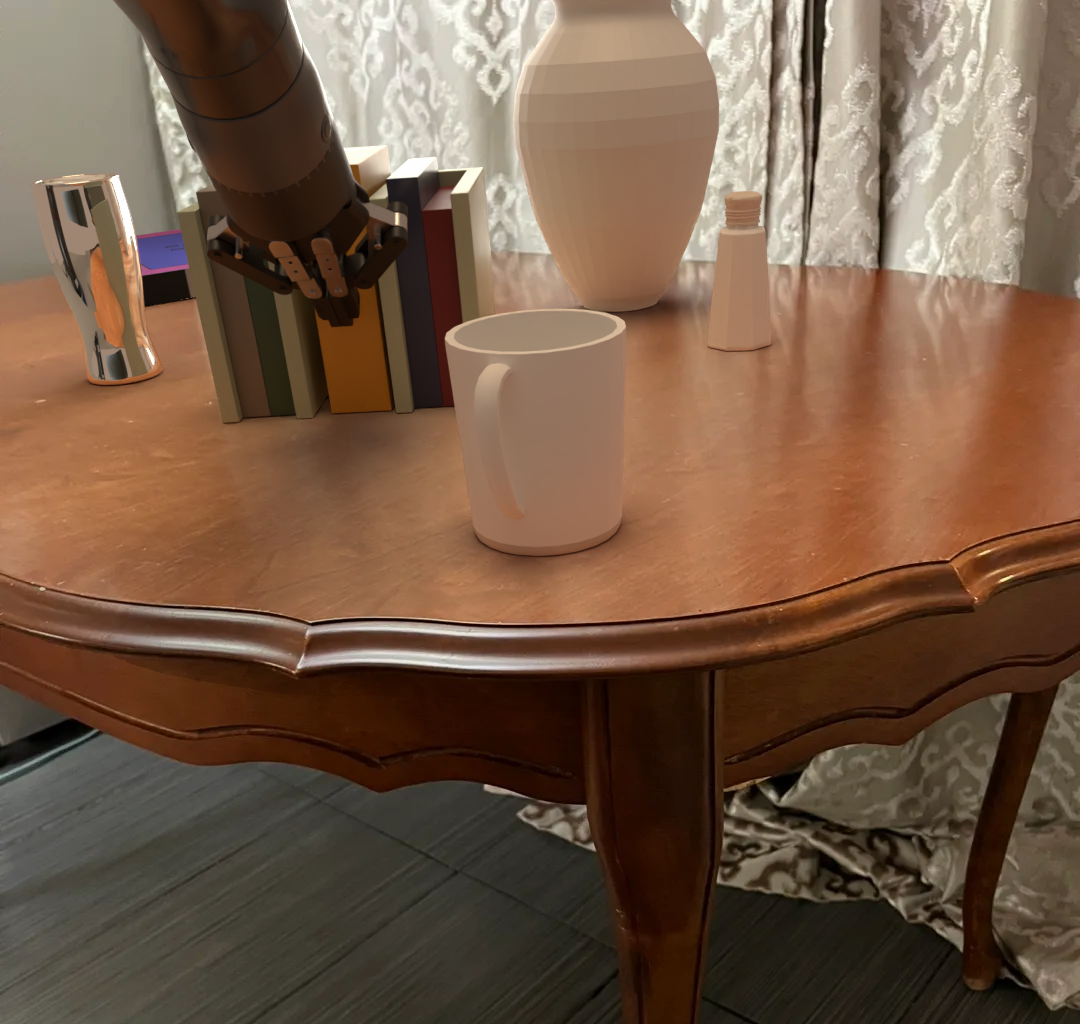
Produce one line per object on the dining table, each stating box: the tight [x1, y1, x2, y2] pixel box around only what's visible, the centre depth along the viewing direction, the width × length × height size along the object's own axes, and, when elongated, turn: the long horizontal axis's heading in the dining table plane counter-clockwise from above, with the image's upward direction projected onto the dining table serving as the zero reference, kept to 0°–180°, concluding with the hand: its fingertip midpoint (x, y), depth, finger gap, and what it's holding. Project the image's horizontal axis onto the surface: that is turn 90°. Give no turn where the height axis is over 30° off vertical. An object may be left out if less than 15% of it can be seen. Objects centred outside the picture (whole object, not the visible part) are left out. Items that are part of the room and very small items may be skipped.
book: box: [136, 228, 195, 307], centre depth 132 cm, size 21×3×30 cm
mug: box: [445, 308, 627, 557], centre depth 57 cm, size 11×9×10 cm
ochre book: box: [314, 144, 395, 414], centre depth 81 cm, size 4×12×16 cm, turn 178°
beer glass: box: [29, 172, 164, 386], centre depth 90 cm, size 7×7×15 cm
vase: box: [512, 0, 720, 313], centre depth 98 cm, size 18×18×25 cm
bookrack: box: [176, 156, 497, 424], centre depth 82 cm, size 19×14×15 cm
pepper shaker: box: [707, 190, 772, 352], centre depth 87 cm, size 5×5×11 cm
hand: (342, 314), depth 76 cm, fingers closed
